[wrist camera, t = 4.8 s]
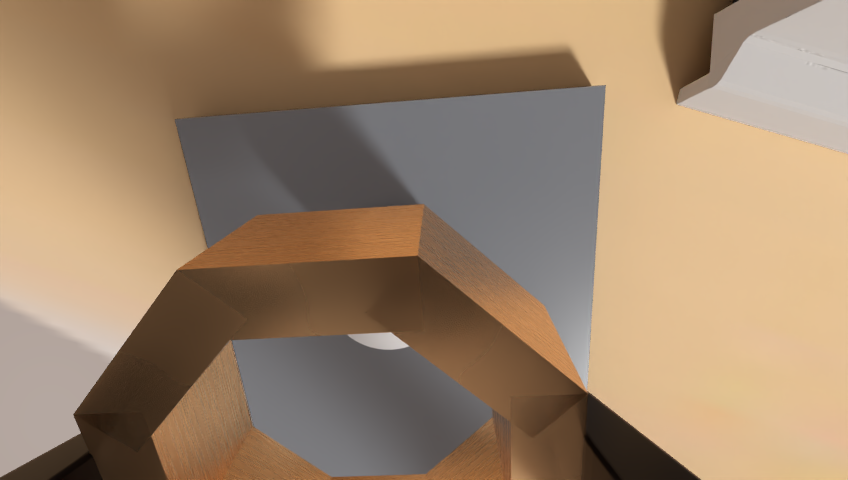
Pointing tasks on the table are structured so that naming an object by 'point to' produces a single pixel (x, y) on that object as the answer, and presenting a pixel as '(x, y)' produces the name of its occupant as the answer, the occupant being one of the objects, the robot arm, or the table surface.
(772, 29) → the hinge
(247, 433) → the ring
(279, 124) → the base
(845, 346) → the table surface
